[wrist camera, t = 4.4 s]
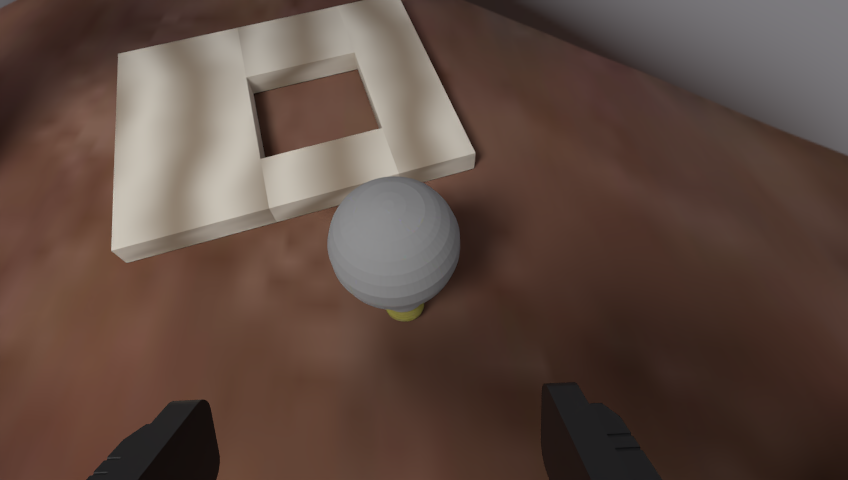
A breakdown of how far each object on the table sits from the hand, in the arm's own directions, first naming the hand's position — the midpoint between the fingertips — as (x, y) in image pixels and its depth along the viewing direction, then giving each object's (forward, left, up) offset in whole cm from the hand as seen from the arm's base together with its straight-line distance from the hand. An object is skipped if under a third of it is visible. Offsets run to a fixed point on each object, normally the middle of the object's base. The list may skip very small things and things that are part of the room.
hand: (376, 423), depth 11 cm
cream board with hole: (-2, +25, -12) cm, 28 cm away
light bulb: (+2, +8, -12) cm, 15 cm away
